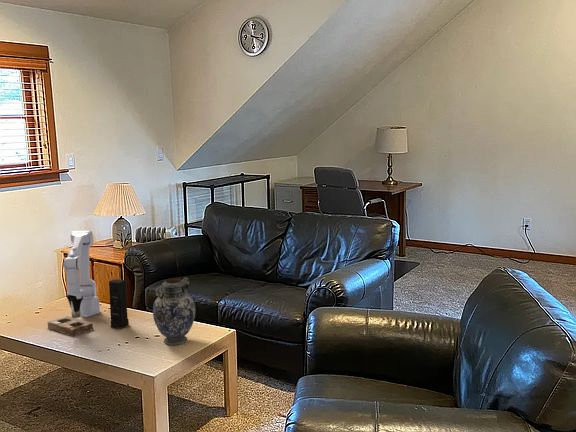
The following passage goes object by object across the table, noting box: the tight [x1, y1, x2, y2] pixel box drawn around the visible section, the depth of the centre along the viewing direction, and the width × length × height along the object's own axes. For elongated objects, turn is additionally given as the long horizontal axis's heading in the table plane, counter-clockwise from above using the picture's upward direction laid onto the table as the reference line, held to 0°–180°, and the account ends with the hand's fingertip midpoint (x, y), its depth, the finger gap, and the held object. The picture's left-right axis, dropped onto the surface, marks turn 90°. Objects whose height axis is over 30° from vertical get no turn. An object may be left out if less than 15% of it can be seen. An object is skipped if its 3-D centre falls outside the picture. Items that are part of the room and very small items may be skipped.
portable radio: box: [108, 276, 129, 330], centre depth 273 cm, size 8×6×25 cm
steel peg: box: [70, 302, 82, 319], centre depth 268 cm, size 4×4×8 cm
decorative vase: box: [152, 276, 196, 346], centre depth 252 cm, size 21×19×28 cm
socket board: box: [47, 315, 94, 337], centre depth 272 cm, size 11×20×3 cm, turn 55°
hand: (75, 310), depth 268 cm, fingers closed on steel peg, 4 cm apart
